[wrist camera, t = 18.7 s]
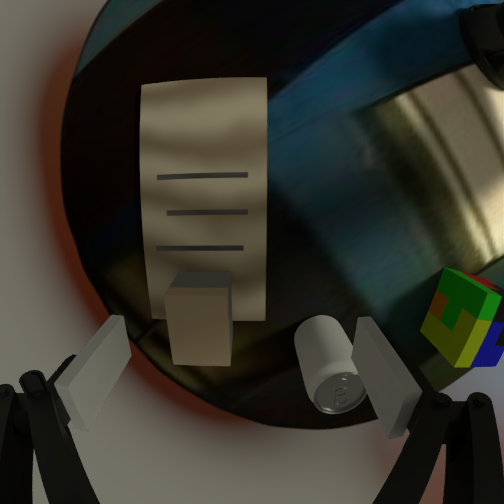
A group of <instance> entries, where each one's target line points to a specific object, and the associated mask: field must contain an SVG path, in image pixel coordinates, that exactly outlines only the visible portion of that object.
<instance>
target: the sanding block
mask: <svg viewBox="0 0 504 504" xmlns="http://www.w3.org/2000/svg"><path fill="white" fill-rule="evenodd" d="M164 301H165V309H166V317H167V325H168V332H169V339H170V346H171V352H172V358H173V364H178V365H200V366H230V363H231V351H232V338H233V321H232V290H231V271H179V272H178V274H177V275H176V277H175V278H174V280H173V282H172V283H171V285H170V286H169V288H168V289H167V291H166V292H165V294H164Z"/></svg>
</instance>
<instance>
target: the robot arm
mask: <svg viewBox="0 0 504 504" xmlns="http://www.w3.org/2000/svg"><path fill="white" fill-rule="evenodd" d="M460 28H461V33H462V36H463V39H464V42H465V44H466V47H467V49H468V51H469V53H470V55H471V56H472V58H473V60H474V61H475V63H476V64H477V66H478V67H479V69H480V70H481V71H482V72H483V74H484V75H485V76H486V77H487V78H488V79H489V80H490V81H491V82H492V83H494V84H495V85H496V86H498V87H499V88H501V89H504V2H503V3H500V4H477V5H473V6H471V7H469V8H467V9H466V10H464V11H463V12H462V14H461V17H460ZM131 356H132V355H131V350H130V346H129V341H128V337H127V332H126V327H125V322H124V317H123V316H121V315H111V316H110V317H109V319H108V320H107V321H106V322H105V323H104V324H103V325H102V326H101V328H100V329H99V330H98V331H97V332H96V333H95V335H94V336H93V337H92V338H91V339H90V341H89V342H88V343H87V344H86V345H85V346H84V348H83V349H82V350H81V351H80V352H79V353H78V355H74V354H73V355H72V356H70V357H68V358H67V359H65V361H64V362H63V363H62V364H61V366H59V368H58V369H57V371H55V372H54V374H53V375H52V376H51V377H50V378H49V380H48V381H47V382H46V379H45V377H44V375H43V373H42V372H40V371H38V370H32V371H28V372H26V373H24V374H23V375H22V376H21V377H20V379H19V383H20V385H21V387H22V389H23V391H24V393H16V392H15V390H14V388H13V386H11V385H10V384H2V385H0V504H33V503H32V502H33V500H32V471H33V451H34V450H35V454H36V459H37V463H38V467H39V471H40V474H41V479H42V482H43V486H44V489H45V492H46V495H47V499H48V501H49V504H100V503H99V501H98V499H97V497H96V495H95V492H94V490H93V488H92V486H91V484H90V482H89V479H88V477H87V474H86V472H85V470H84V468H83V465H82V462H81V460H80V457H79V455H78V452H77V449H76V447H75V444H74V441H73V438H72V435H71V432H70V429H69V427H68V426H67V424H68V423H69V421H70V420H71V421H72V423H73V425H74V427H75V428H77V429H80V430H84V431H87V432H88V431H89V429H90V427H91V426H92V424H93V422H94V420H95V418H96V417H97V415H98V413H99V411H100V409H101V408H102V406H103V404H104V402H105V400H106V399H107V397H108V395H109V393H110V392H111V390H112V388H113V386H114V385H115V383H116V381H117V380H118V378H119V376H120V374H121V373H122V371H123V369H124V367H125V366H126V364H127V362H128V361H129V359H130V357H131ZM351 359H352V361H353V363H354V366H355V368H356V370H357V372H358V374H359V376H360V378H361V381H362V383H363V385H364V387H365V389H366V392H367V394H368V396H369V398H370V400H371V403H372V405H373V407H374V409H375V412H376V414H377V416H378V418H379V421H380V423H381V425H382V428H383V430H384V432H385V435H386V437H387V439H392V438H396V437H401V436H403V434H404V432H405V430H406V428H408V430H409V432H410V435H409V437H408V438H407V440H406V442H405V444H404V446H403V449H402V451H401V453H400V455H399V457H398V459H397V461H396V463H395V465H394V467H393V469H392V471H391V473H390V474H389V476H388V478H387V480H386V482H385V483H384V485H383V487H382V488H381V490H380V492H379V494H378V495H377V497H376V499H375V500H374V502H373V503H372V504H419V502H420V500H421V498H422V495H423V493H424V491H425V488H426V486H427V484H428V481H429V479H430V476H431V474H432V471H433V469H434V466H435V463H436V460H437V458H438V455H439V452H440V449H441V446H442V444H446V469H445V485H444V496H443V504H504V477H503V476H504V475H503V465H502V456H501V448H500V442H499V436H498V430H497V424H496V419H495V414H494V409H493V404H492V401H491V399H490V398H489V397H488V396H487V395H486V394H483V393H480V392H474V393H472V394H470V395H469V397H468V398H467V401H452V399H451V398H450V397H449V396H448V395H446V394H444V393H439V392H436V391H435V389H434V388H433V387H432V385H431V384H430V382H429V381H428V379H427V378H426V377H425V376H424V374H423V373H422V371H420V368H419V367H418V366H417V364H416V363H415V362H413V361H412V360H410V359H409V358H406V359H400V357H399V356H398V355H397V353H396V352H395V350H394V349H393V347H392V346H391V345H390V343H389V342H388V340H387V339H386V337H385V336H384V335H383V333H382V332H381V330H380V329H379V328H378V326H377V325H376V323H375V322H374V321H373V319H372V318H371V317H358V321H357V327H356V333H355V339H354V344H353V350H352V355H351Z"/></svg>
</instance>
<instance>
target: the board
mask: <svg viewBox="0 0 504 504" xmlns="http://www.w3.org/2000/svg"><path fill="white" fill-rule="evenodd" d="M140 190H141V212H142V228H143V242H144V253H145V264H146V274H147V283H148V291H149V299H150V307H151V314H152V319H167V317H166V309H165V301H164V294H165V292H166V291H167V289H168V288H169V286H170V285H171V283H172V282H173V280H174V278H175V277H176V275H177V274H178V272H179V271H231V290H232V321H265V301H266V234H267V78H212V79H195V80H182V81H172V82H163V83H154V84H147V85H142V89H141V110H140Z"/></svg>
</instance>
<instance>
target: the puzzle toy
mask: <svg viewBox="0 0 504 504" xmlns="http://www.w3.org/2000/svg"><path fill="white" fill-rule="evenodd" d="M420 332H421V333H422V334H423V335H424V336H425V337H426V338H427V339H428V340H429V341H430V342H431V343H432V344H433V345H434V346H435V347H436V348H437V349H438V351H439V352H440V353H441V354H442V355H443V356H444V357H445V358H446V359H447V360H448V361H449V362H450V364H451V365H452V366H453V367H492V366H496V365H497V363H498V361H499V359H500V357H501V356H502V354H503V351H504V289H502V288H501V287H499V286H497V285H495V284H494V283H492V282H490V281H488V280H486V279H484V278H481V277H477V276H474V275H470V274H467V273H463V272H460V271H456V270H453V269H449V268H445V267H444V270H443V273H442V276H441V278H440V281H439V284H438V287H437V290H436V292H435V295H434V298H433V300H432V303H431V305H430V308H429V310H428V313H427V315H426V317H425V320H424V322H423V325H422V327H421V329H420Z"/></svg>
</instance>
